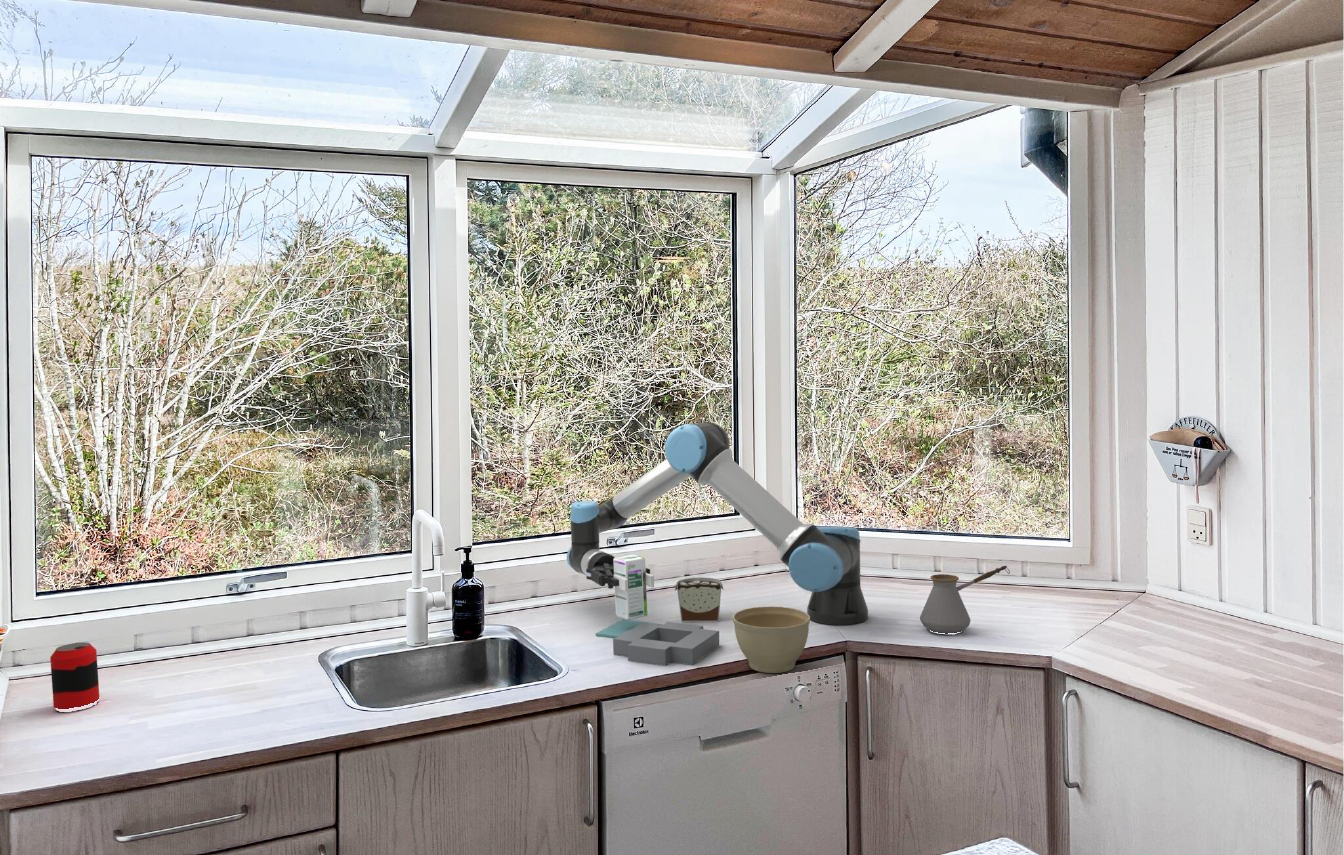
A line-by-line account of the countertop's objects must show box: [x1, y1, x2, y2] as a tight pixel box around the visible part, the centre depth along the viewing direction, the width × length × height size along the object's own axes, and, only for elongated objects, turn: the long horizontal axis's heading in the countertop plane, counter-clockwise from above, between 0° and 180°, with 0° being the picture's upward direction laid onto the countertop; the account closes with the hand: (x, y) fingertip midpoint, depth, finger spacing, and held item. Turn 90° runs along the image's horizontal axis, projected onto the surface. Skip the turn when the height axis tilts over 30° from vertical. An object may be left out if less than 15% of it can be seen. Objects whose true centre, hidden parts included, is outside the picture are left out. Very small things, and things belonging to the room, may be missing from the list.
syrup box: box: [614, 554, 648, 621], centre depth 217 cm, size 6×6×14 cm
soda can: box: [49, 641, 100, 709], centre depth 176 cm, size 8×8×12 cm
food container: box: [674, 576, 725, 623], centre depth 227 cm, size 12×6×10 cm, turn 84°
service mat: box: [595, 619, 664, 639], centre depth 217 cm, size 13×13×1 cm
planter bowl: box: [732, 605, 811, 674], centre depth 188 cm, size 16×16×11 cm
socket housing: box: [612, 621, 720, 666], centre depth 201 cm, size 20×20×4 cm
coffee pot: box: [919, 565, 1011, 634], centre depth 210 cm, size 21×12×15 cm, turn 93°
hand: (639, 583), depth 212 cm, fingers closed on syrup box, 6 cm apart
